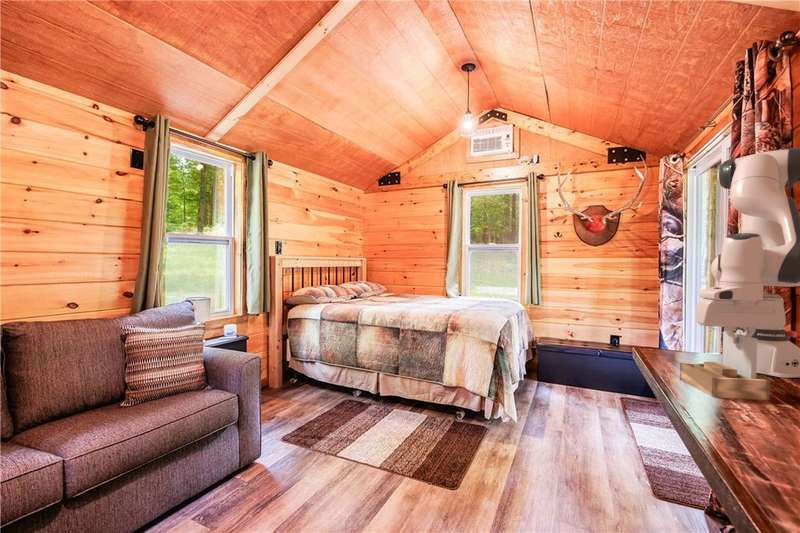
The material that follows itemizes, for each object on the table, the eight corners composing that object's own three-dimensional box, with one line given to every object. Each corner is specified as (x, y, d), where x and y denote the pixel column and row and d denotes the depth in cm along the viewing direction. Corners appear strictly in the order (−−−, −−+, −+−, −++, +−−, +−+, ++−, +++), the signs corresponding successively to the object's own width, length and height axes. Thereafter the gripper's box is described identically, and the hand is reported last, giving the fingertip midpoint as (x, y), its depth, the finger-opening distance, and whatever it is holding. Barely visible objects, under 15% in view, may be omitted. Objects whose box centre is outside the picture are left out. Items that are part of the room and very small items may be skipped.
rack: (727, 384, 108) (728, 364, 108) (769, 403, 94) (770, 380, 94) (679, 382, 110) (680, 362, 110) (713, 401, 96) (714, 378, 96)
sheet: (726, 376, 106) (727, 331, 106) (755, 388, 96) (757, 338, 96) (722, 376, 106) (723, 331, 106) (750, 388, 96) (752, 338, 96)
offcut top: (717, 370, 105) (717, 362, 105) (736, 378, 98) (737, 369, 98) (703, 370, 106) (703, 361, 106) (722, 378, 99) (722, 369, 99)
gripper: (772, 292, 103) (771, 342, 103) (692, 291, 105) (691, 339, 105) (794, 294, 96) (792, 347, 97) (708, 293, 99) (707, 344, 99)
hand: (738, 343), depth 101 cm, fingers closed on sheet, 1 cm apart
